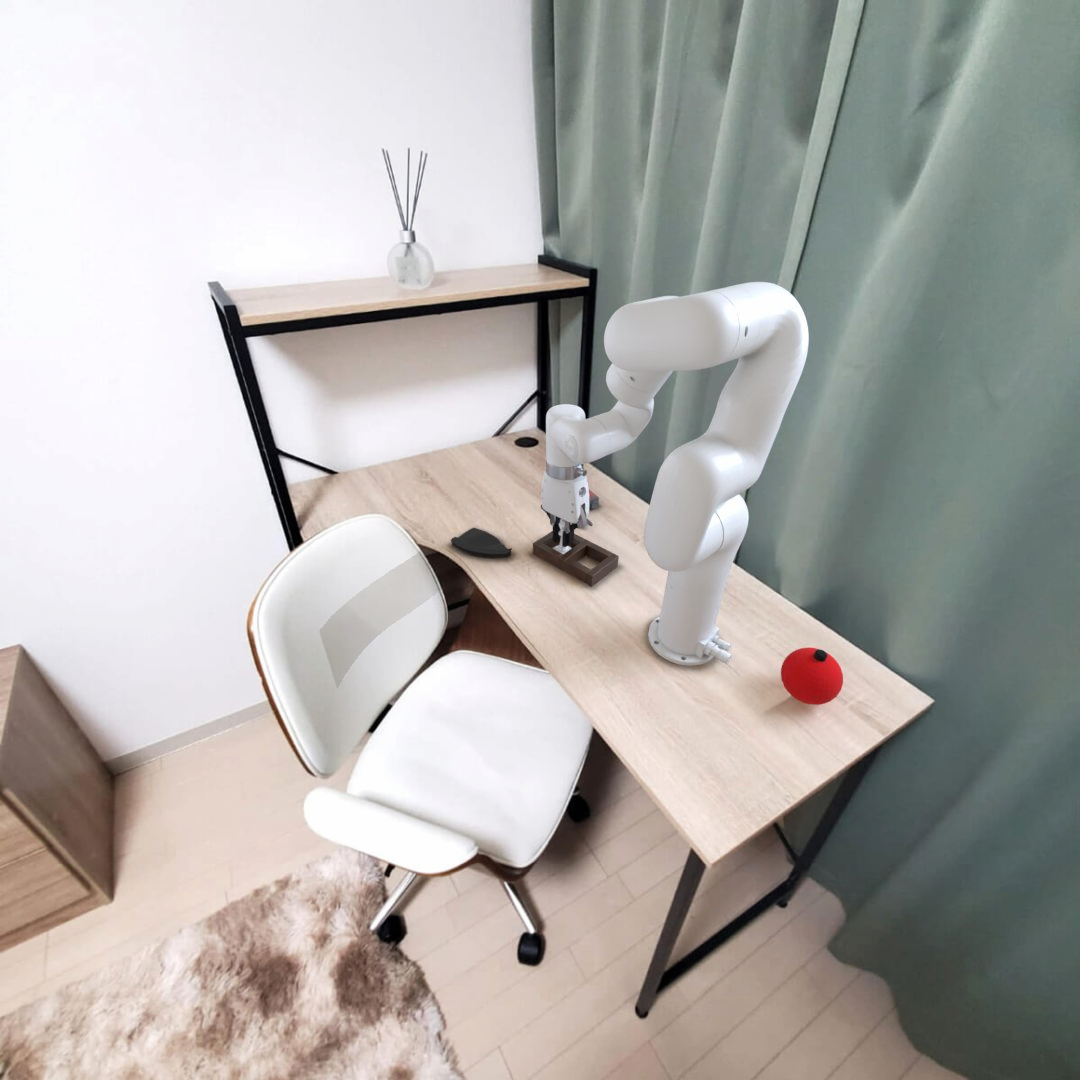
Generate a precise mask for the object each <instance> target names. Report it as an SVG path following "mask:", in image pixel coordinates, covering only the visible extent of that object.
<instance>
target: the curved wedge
mask: <svg viewBox="0 0 1080 1080" xmlns="http://www.w3.org/2000/svg"><path fill="white" fill-rule="evenodd" d="M450 542H451V547H452V549H455V550H456V551H459V552H461V553H462V554H465V555H468V556H471V557H476V558H483V559H504V558H510V557H511V556H512V550H513V548H512V547H511V548H507V547H506V546H505V544H503V543H502V542H501V541H500V539H499V538H498V537H496V536H495V535H493V534H491V533H490V532H487V531H486V530H484V529H483V530H482V529H479V528H476V527H472V528H470V529H468V530H467V531H465V532H464V533H462V534H461V535H459V536H454V537H452V538H451V539H450Z"/></svg>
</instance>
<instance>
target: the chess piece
mask: <svg viewBox="0 0 1080 1080" xmlns="http://www.w3.org/2000/svg"><path fill="white" fill-rule="evenodd" d="M559 527H560V531H559V532H558V534H559V535H560V536H561V539H560V543H559V544H557V545H555V546H554V547H552V548H553V549H554V550H556V551H558V552H560V553H562V554H565V553H566V552H567V551H569V550H570V549H572V548H571V547H570V546H567V547H563V545H562V535H563V531H565V520H563V519H561V520H560V523H559Z"/></svg>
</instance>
